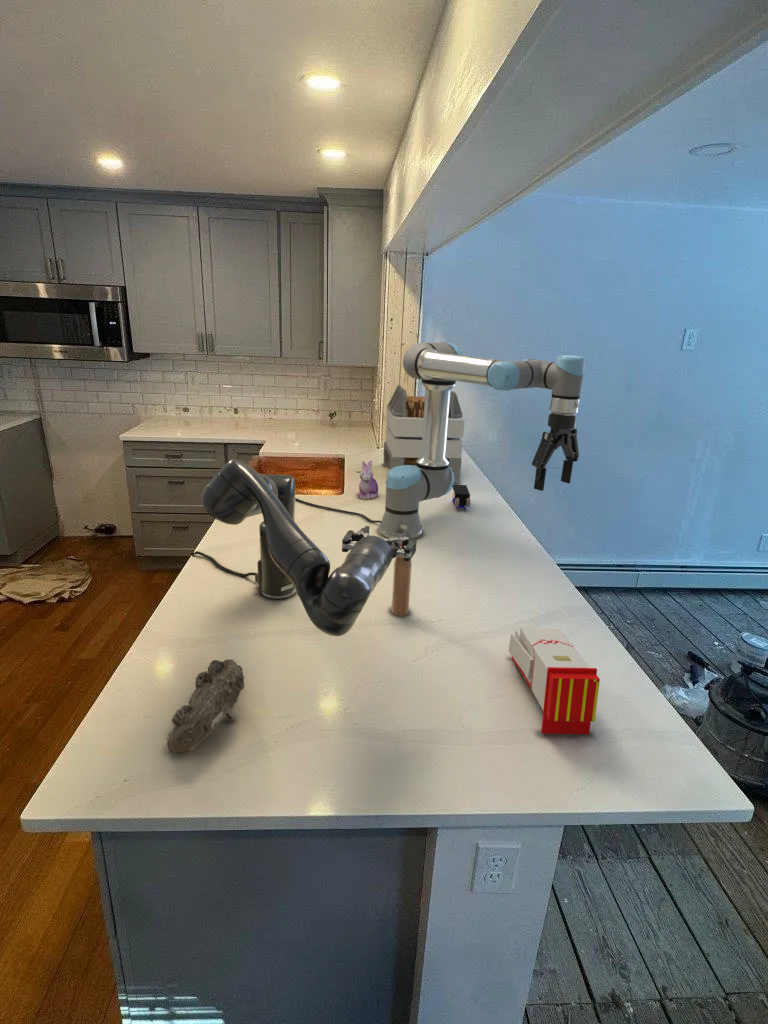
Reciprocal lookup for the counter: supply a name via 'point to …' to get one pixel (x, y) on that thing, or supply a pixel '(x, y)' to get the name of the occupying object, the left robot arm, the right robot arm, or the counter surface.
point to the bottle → (401, 586)
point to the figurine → (367, 482)
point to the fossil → (206, 705)
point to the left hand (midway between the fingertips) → (387, 532)
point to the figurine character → (461, 496)
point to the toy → (557, 679)
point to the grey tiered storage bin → (419, 431)
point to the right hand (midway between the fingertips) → (552, 485)
